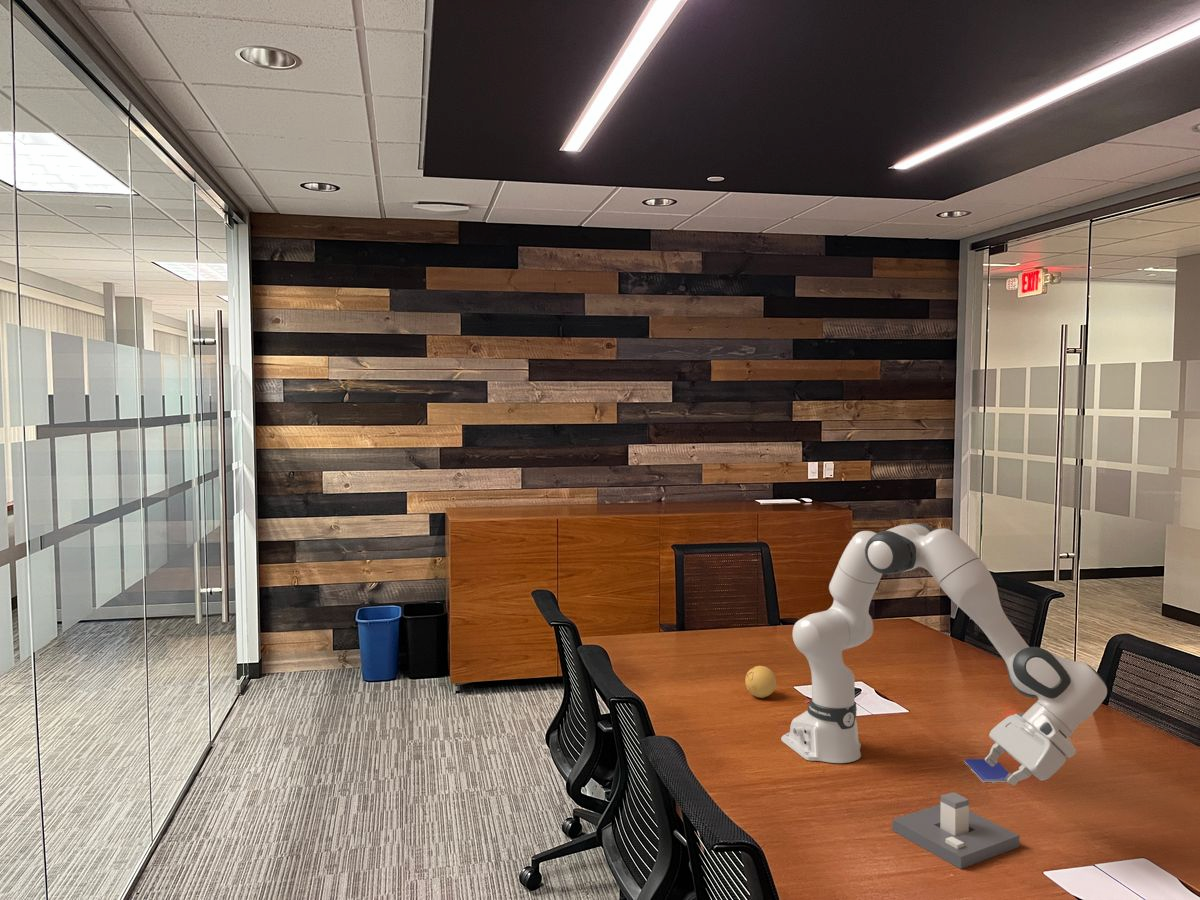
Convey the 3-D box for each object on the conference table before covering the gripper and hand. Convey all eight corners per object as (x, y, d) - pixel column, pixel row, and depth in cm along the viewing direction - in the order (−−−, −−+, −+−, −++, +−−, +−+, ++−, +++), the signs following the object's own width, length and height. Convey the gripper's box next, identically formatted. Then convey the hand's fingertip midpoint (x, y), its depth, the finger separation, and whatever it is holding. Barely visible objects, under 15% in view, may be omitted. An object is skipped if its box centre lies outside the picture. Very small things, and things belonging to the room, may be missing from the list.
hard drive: (1017, 779, 211) (996, 758, 223) (983, 779, 211) (964, 758, 223) (1016, 785, 211) (995, 764, 223) (983, 785, 211) (964, 764, 223)
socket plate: (892, 830, 188) (892, 815, 188) (949, 811, 197) (949, 797, 197) (960, 869, 172) (960, 853, 172) (1019, 846, 181) (1019, 831, 181)
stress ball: (779, 699, 275) (769, 672, 282) (781, 683, 268) (771, 656, 276) (749, 706, 274) (740, 679, 282) (751, 690, 268) (741, 663, 275)
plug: (940, 836, 186) (940, 795, 185) (953, 832, 187) (954, 792, 187) (955, 844, 182) (955, 803, 182) (968, 840, 184) (968, 799, 183)
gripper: (1010, 700, 194) (966, 743, 194) (1059, 735, 173) (1010, 783, 174) (1029, 719, 194) (986, 762, 194) (1080, 756, 173) (1032, 804, 174)
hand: (998, 772), depth 184 cm, fingers open, 8 cm apart
